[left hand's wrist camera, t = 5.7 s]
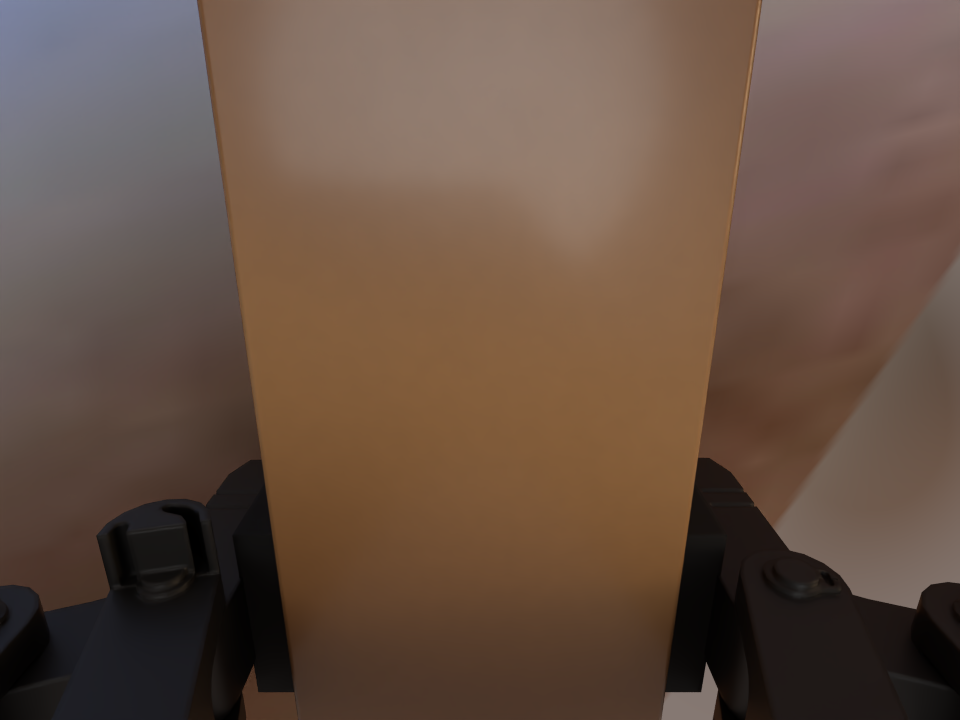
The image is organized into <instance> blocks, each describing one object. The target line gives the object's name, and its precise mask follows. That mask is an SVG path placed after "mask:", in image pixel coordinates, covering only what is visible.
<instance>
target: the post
mask: <svg viewBox="0 0 960 720" xmlns="http://www.w3.org/2000/svg"><path fill="white" fill-rule="evenodd" d="M197 3H198V11H199V18H200V25H201V32H202V39H203V46H204V53H205V60H206V67H207V75H208V82H209V89H210V96H211V103H212V110H213V117H214V124H215V131H216V138H217V146H218V153H219V160H220V167H221V174H222V181H223V188H224V195H225V202H226V210H227V217H228V224H229V231H230V238H231V245H232V252H233V259H234V266H235V274H236V281H237V288H238V295H239V302H240V309H241V316H242V323H243V330H244V337H245V345H246V352H247V359H248V366H249V373H250V380H251V387H252V394H253V401H254V409H255V416H256V423H257V430H258V437H259V444H260V451H261V458H262V465H263V472H264V480H265V487H266V494H267V501H268V508H269V515H270V522H271V529H272V536H273V544H274V551H275V558H276V565H277V572H278V579H279V586H280V593H281V600H282V607H283V615H284V622H285V629H286V636H287V643H288V650H289V657H290V664H291V671H292V679H293V686H294V693H295V700H296V707H297V714H298V720H661V718H662V711H663V703H664V696H665V689H666V682H667V675H668V668H669V661H670V654H671V646H672V639H673V632H674V625H675V618H676V611H677V604H678V597H679V589H680V582H681V575H682V568H683V561H684V554H685V547H686V540H687V532H688V525H689V518H690V511H691V504H692V497H693V490H694V483H695V475H696V468H697V461H698V454H699V447H700V440H701V433H702V425H703V418H704V411H705V404H706V397H707V390H708V383H709V376H710V368H711V361H712V354H713V347H714V340H715V333H716V326H717V319H718V311H719V304H720V297H721V290H722V283H723V276H724V269H725V262H726V254H727V247H728V240H729V233H730V226H731V219H732V212H733V205H734V197H735V190H736V183H737V176H738V169H739V162H740V155H741V148H742V140H743V133H744V126H745V119H746V112H747V105H748V98H749V91H750V83H751V76H752V69H753V62H754V55H755V48H756V41H757V34H758V26H759V19H760V12H761V5H762V0H197Z"/></svg>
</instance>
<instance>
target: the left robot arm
mask: <svg viewBox="0 0 960 720" xmlns="http://www.w3.org/2000/svg"><path fill="white" fill-rule="evenodd" d="M97 540H98V544H99V548H100V552H101V555H102V559H103V563H104V567H105V571H106V575H107V579H108V582H109V586H110V591H109V594H108V596H107V598H104V599H100V600H97V601H93V602H89V603H84V604H79V605H75V606H70V607H65V608H61V609H56V610H51V611H47V612H44V611H43V608H42V605H41V602H40V598H39V595H38V594H37V593H35V592H34V591H33V590H32V589H31V588H29V587H23V586H16V585H8V586H0V720H246V713H245V705H244V699H243V694H242V690H243V688H244V685H245V683H246V681H247V678H248V676H249V674H250V671H251V669H252V667H253V664H254V668H255V674H256V680H257V686H258V692H294V686H293V679H292V671H291V664H290V657H289V650H288V643H287V636H286V629H285V622H284V615H283V607H282V600H281V593H280V586H279V579H278V572H277V565H276V558H275V551H274V544H273V536H272V529H271V522H270V515H269V508H268V501H267V494H266V487H265V480H264V472H263V465H262V460H250V461H249V462H247V463H245V464H244V465H242V466H241V467H239V468H238V469H236V470H235V471H233V472H232V473H230V474H229V475H228V476H227V478H226V479H225V480H224V482H223V483H222V484H221V486H220V487H219V489H218V490H217V493H216V495H213V497H212V498H211V499H210V501H209V502H208V503H207V505H206V507H205V506H204V505H203V504H202V503H200V502H196V501H192V500H188V499H168V500H162V501H157V502H153V503H148V504H144V505H142V506H139V507H137V508H134V509H132V510H129V511H127V512H124V513H123V514H121V515H120V516H118V517H116V518H115V519H113V520H112V521H110V522H109V523H107V524H106V525H105V527H104V528H103V529H102V530H101V531H100V532H99V533H98V535H97ZM706 662H707V664H708V667H709V669H710V671H711V674H712V676H713V678H714V681H715V683H716V685H717V688H718V694H717V699H716V705H715V710H714V716H713V720H960V584H959V583H951V582H945V583H939V584H932V585H930V586H929V587H928V588H926V589H925V590H924V591H923V592H922V593H921V597H920V600H919V603H918V606H917V609H912V608H907V607H903V606H898V605H893V604H889V603H884V602H879V601H875V600H870V599H866V598H862V597H859V596H855V595H852V593H851V590H850V588H849V587H848V586H847V584H846V583H845V582H844V580H843V579H842V578H841V576H840V575H839V574H837V573H836V572H835V571H833V570H832V569H831V568H829V567H828V566H827V565H825V564H824V563H822V562H820V561H818V560H815V559H813V558H811V557H809V556H807V555H805V554H801V553H797V552H793V551H790V550H789V549H788V548H787V546H786V545H785V544H784V542H783V541H782V540H781V538H780V537H779V536H778V534H777V533H776V532H775V530H774V529H773V528H772V526H771V525H770V524H769V522H768V521H767V520H766V518H765V517H764V516H763V514H762V513H761V512H760V510H759V509H758V508H757V507H754V502H753V501H752V500H751V498H750V497H749V496H748V494H747V493H746V492H744V491H743V488H742V486H741V485H740V484H739V482H738V481H737V480H736V478H735V477H734V476H733V474H732V473H731V472H730V471H728V470H727V469H725V468H724V467H722V466H721V465H719V464H717V463H716V462H714V461H713V460H711V459H710V458H698V461H697V468H696V475H695V483H694V490H693V497H692V504H691V511H690V518H689V525H688V532H687V540H686V547H685V554H684V561H683V568H682V575H681V582H680V589H679V597H678V604H677V611H676V618H675V625H674V632H673V639H672V646H671V654H670V661H669V668H668V675H667V682H666V689H665V692H701V689H702V684H703V678H704V671H705V666H706Z"/></svg>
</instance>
